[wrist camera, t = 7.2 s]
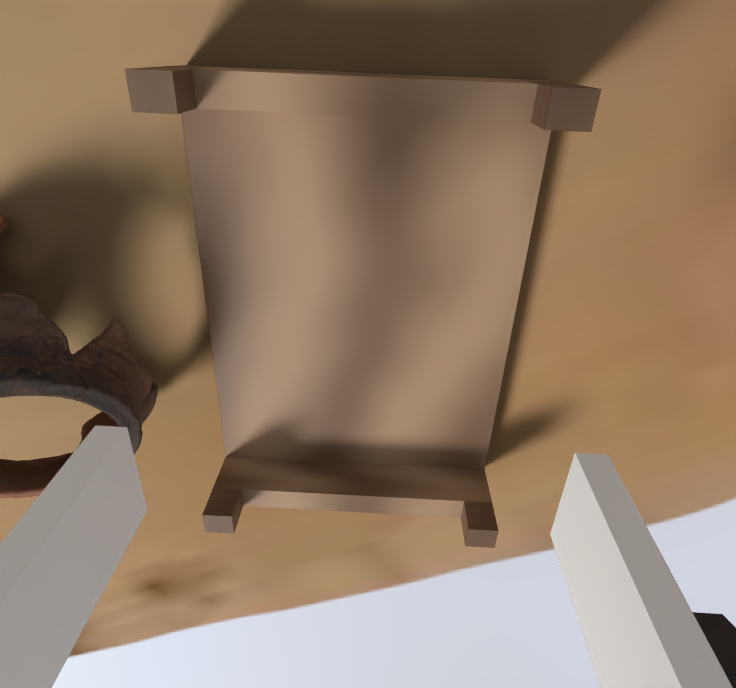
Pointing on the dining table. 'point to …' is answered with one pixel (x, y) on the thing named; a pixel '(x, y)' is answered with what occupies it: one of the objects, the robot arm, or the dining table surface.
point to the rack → (360, 275)
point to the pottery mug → (67, 381)
